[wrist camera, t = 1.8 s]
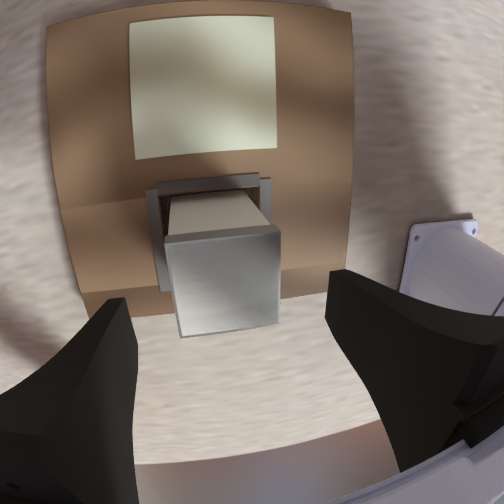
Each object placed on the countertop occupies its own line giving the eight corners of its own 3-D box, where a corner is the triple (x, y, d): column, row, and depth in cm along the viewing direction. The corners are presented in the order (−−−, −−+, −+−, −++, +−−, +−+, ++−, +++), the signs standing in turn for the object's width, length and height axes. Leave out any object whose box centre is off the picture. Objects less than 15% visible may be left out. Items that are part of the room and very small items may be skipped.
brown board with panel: (332, 278, 22) (343, 290, 20) (94, 307, 19) (89, 323, 17) (338, 18, 15) (352, 11, 13) (56, 32, 12) (45, 25, 10)
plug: (247, 256, 20) (279, 324, 14) (177, 263, 19) (180, 338, 13) (244, 188, 18) (281, 231, 12) (169, 195, 17) (164, 243, 11)
